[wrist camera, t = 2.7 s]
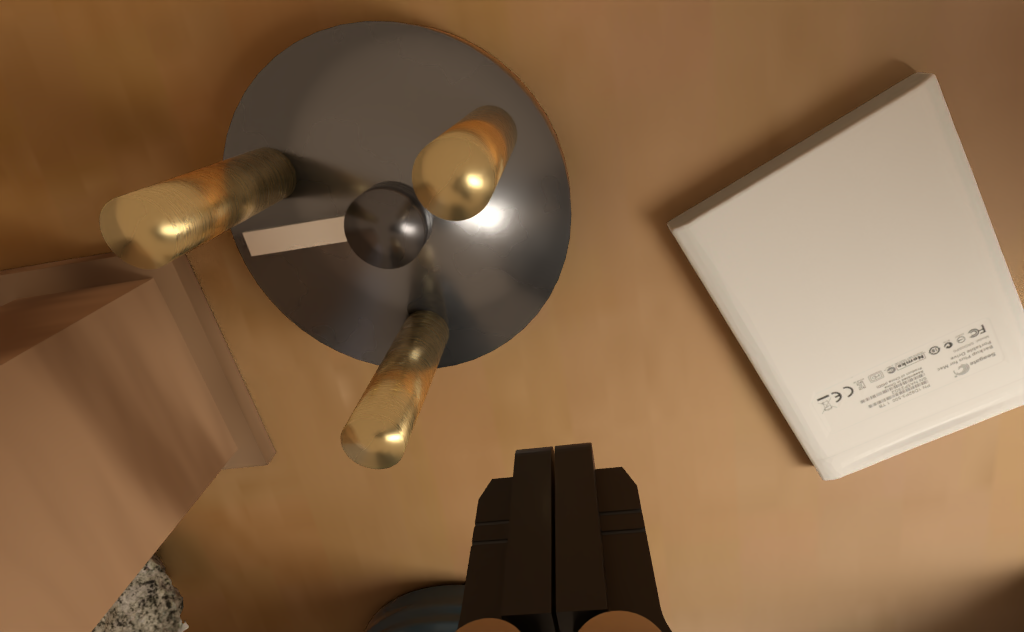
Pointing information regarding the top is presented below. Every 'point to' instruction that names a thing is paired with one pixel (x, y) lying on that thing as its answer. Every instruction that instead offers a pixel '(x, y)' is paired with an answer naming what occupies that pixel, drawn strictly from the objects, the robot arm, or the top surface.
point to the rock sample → (146, 604)
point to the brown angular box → (106, 429)
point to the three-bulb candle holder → (378, 208)
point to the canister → (421, 611)
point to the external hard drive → (866, 282)
